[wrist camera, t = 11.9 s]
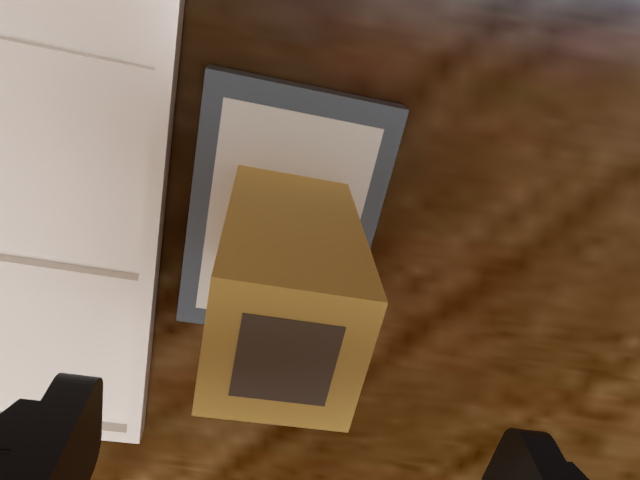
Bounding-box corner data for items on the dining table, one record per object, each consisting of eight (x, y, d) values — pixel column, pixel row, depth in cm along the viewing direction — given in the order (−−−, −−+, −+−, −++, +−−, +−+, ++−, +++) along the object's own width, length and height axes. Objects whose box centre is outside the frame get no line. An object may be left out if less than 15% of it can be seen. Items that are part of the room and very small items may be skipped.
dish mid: (-107, 30, 17) (-129, 33, 16) (176, 87, 18) (171, 92, 17) (-81, 248, 20) (-98, 261, 19) (157, 283, 22) (152, 296, 21)
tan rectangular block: (237, 164, 19) (209, 277, 11) (348, 184, 19) (388, 303, 12) (222, 262, 20) (190, 416, 13) (325, 278, 21) (348, 433, 14)
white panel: (-81, 248, 20) (-98, 261, 19) (157, 283, 22) (152, 296, 21) (-62, 405, 24) (-76, 422, 23) (144, 427, 25) (139, 443, 24)
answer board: (209, 63, 18) (205, 68, 17) (403, 104, 19) (409, 110, 18) (180, 307, 22) (175, 321, 21) (341, 329, 23) (343, 344, 22)
